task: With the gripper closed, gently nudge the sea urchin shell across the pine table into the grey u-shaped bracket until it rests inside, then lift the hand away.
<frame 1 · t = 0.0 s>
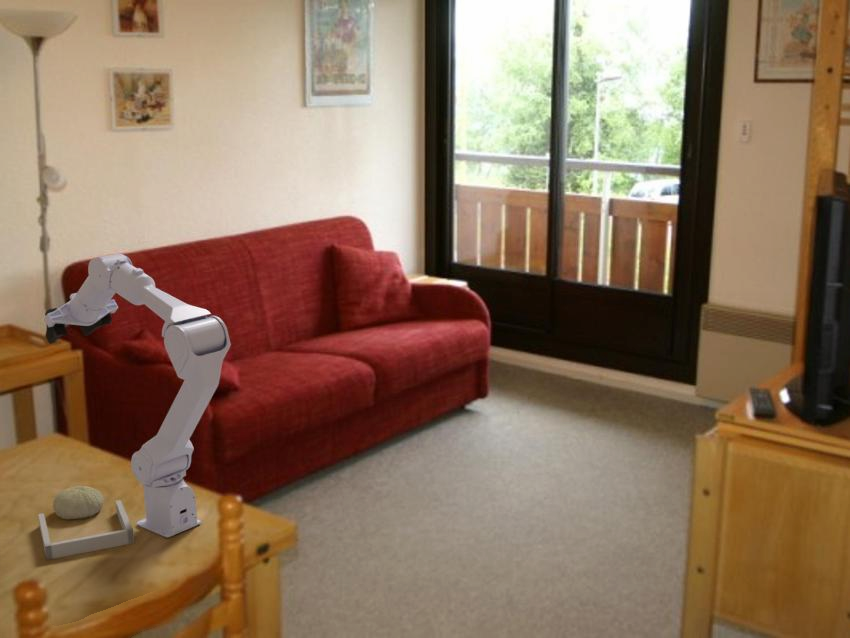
hand: (66, 335, 207), 32 cm above the table, tool tilted 50°, fingers open, 7 cm apart
grey u-shaped bracket: (86, 534, 193), on the table
sea urchin shell: (79, 513, 203), on the table
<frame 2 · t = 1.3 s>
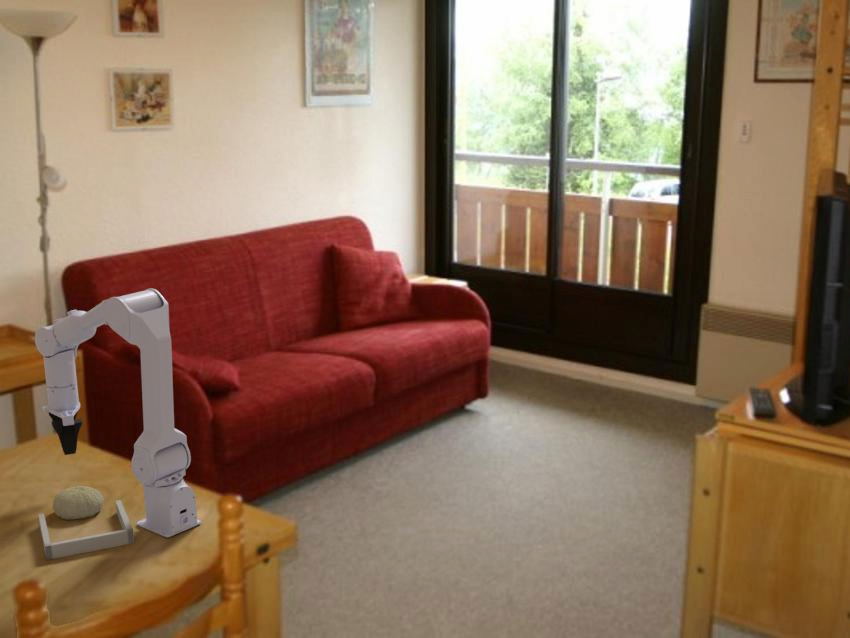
hand: (68, 449, 210), 9 cm above the table, tool pointing down, fingers open, 5 cm apart
nothing on the table moved.
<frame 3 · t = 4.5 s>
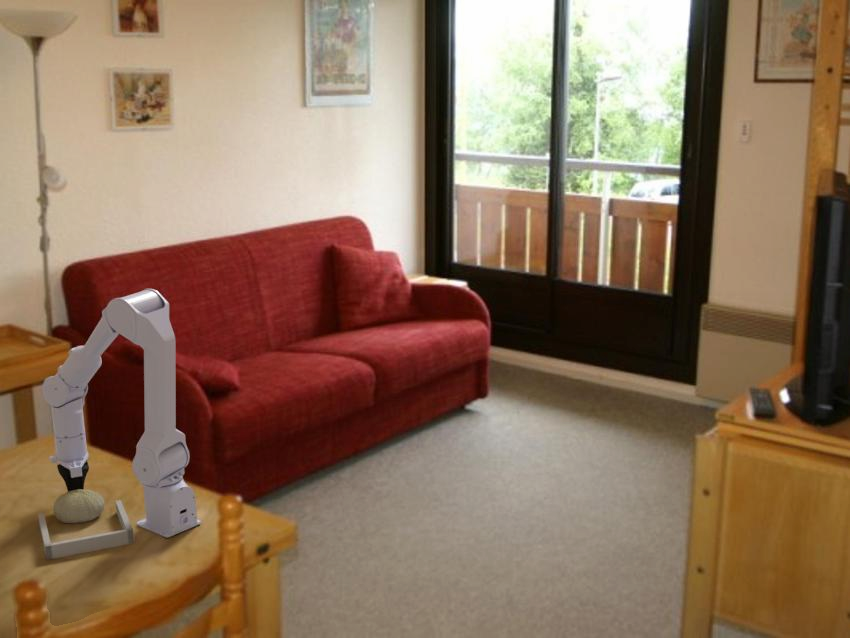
hand: (76, 499, 206), 1 cm above the table, tool pointing down, fingers closed
sea urchin shell: (79, 517, 201), on the table, touching gripper
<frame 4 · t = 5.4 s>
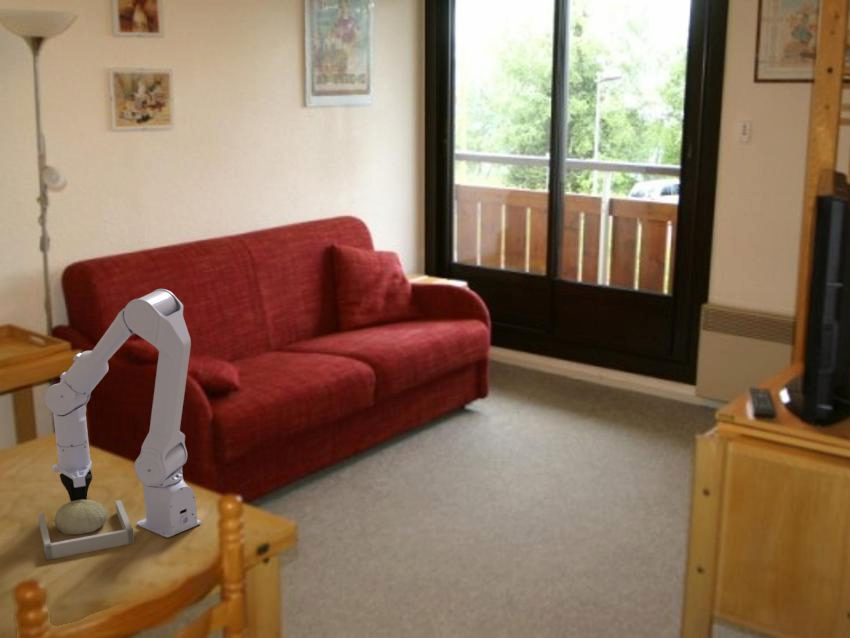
hand: (79, 509, 201), 1 cm above the table, tool pointing down, fingers closed
sea urchin shell: (81, 528, 197), on the table, touching gripper
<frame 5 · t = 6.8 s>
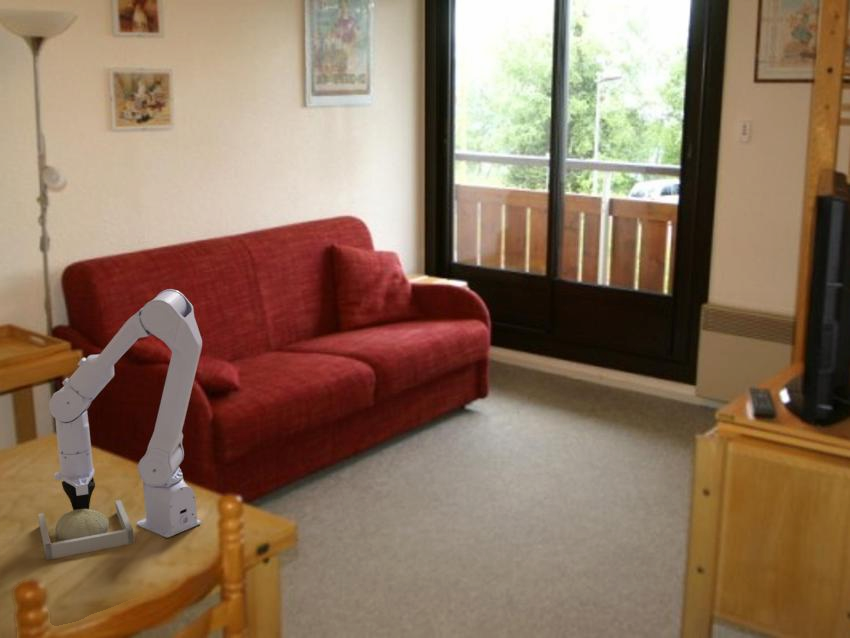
hand: (81, 517, 197), 1 cm above the table, tool pointing down, fingers closed
sea urchin shell: (82, 538, 193), on the table
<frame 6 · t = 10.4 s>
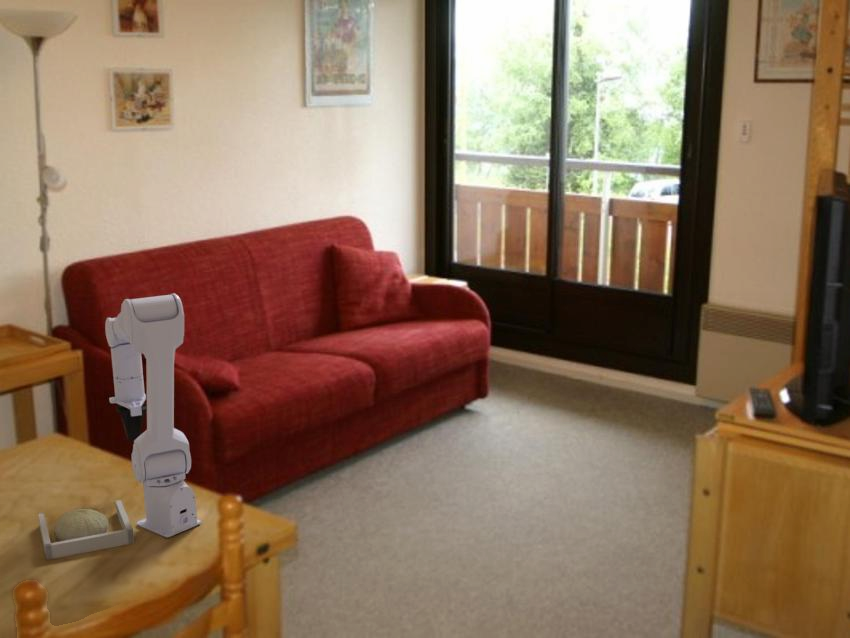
hand: (133, 439, 213), 10 cm above the table, tool pointing down, fingers closed
nothing on the table moved.
at the end: sea urchin shell 0.9 cm from the grey u-shaped bracket (horizontally); sea urchin shell moved 11.7 cm from its start; sea urchin shell on the table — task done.
